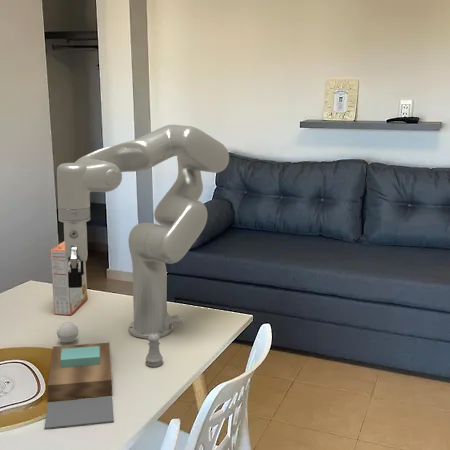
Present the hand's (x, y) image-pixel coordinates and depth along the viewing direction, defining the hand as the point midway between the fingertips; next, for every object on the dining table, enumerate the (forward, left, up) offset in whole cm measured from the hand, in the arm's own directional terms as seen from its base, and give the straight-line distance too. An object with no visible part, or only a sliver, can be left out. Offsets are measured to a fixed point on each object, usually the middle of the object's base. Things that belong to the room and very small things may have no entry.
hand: (76, 280), depth 147 cm
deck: (-1, +10, -21) cm, 24 cm away
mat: (-1, +26, -21) cm, 34 cm away
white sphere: (+3, -10, -21) cm, 24 cm away
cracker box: (+3, -37, -21) cm, 42 cm away
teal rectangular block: (-1, +9, -17) cm, 19 cm away
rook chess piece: (-19, +6, -21) cm, 29 cm away
